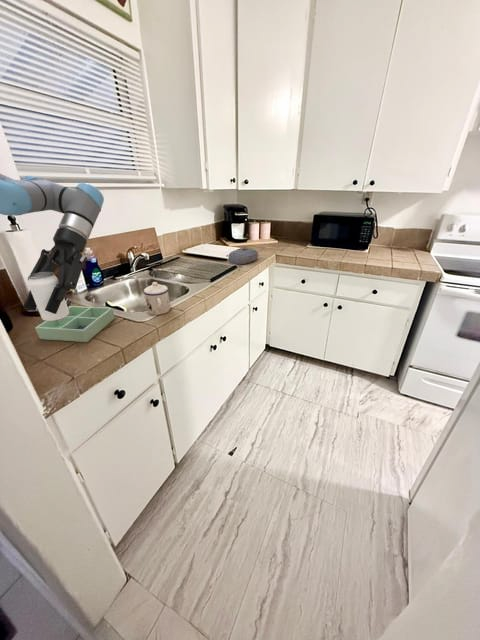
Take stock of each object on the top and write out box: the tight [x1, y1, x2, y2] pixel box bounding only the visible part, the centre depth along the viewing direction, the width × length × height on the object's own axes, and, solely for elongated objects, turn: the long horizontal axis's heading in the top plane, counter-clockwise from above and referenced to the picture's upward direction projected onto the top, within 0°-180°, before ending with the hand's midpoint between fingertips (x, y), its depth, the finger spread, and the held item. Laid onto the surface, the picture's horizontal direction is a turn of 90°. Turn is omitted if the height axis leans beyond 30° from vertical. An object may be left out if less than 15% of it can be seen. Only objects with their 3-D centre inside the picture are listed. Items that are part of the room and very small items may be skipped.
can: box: [27, 272, 69, 322], centre depth 69 cm, size 6×6×12 cm
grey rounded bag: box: [228, 247, 259, 266], centre depth 166 cm, size 15×8×20 cm
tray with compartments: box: [34, 305, 116, 343], centre depth 90 cm, size 17×17×4 cm
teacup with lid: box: [143, 281, 171, 316], centre depth 100 cm, size 12×9×12 cm
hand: (39, 310), depth 68 cm, fingers closed on can, 6 cm apart
